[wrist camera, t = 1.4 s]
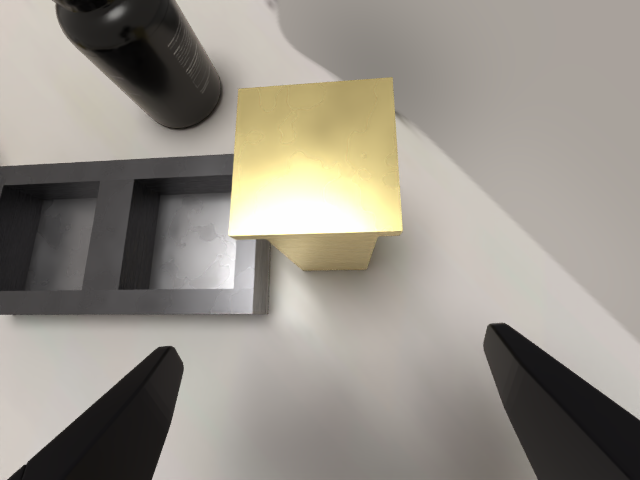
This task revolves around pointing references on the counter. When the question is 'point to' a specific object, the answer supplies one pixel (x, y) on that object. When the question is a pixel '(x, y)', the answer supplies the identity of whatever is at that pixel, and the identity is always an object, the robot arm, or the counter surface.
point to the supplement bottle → (145, 55)
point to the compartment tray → (126, 239)
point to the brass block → (317, 171)
